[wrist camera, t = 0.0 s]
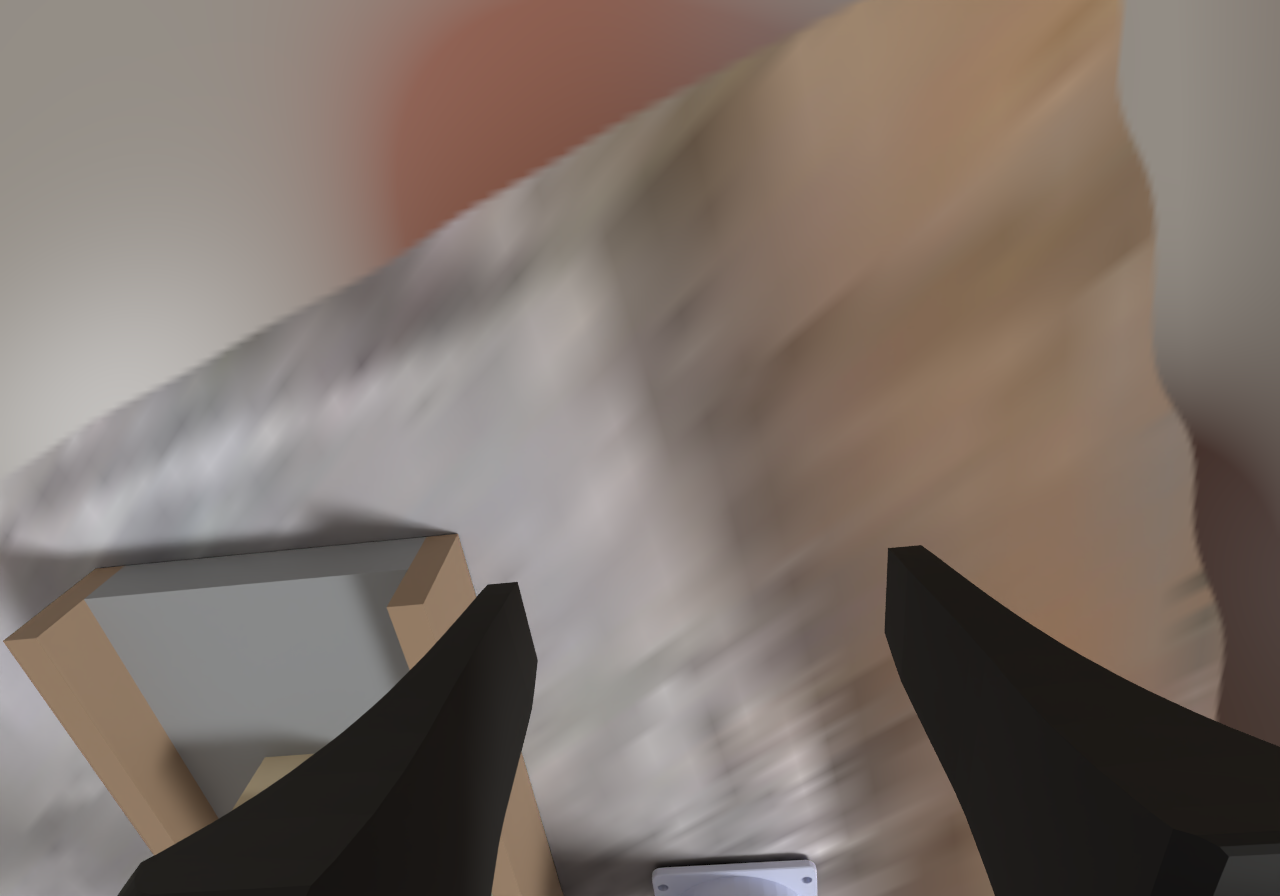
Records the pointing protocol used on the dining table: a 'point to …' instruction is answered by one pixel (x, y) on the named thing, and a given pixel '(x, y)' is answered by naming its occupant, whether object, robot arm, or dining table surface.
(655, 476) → the dining table surface
